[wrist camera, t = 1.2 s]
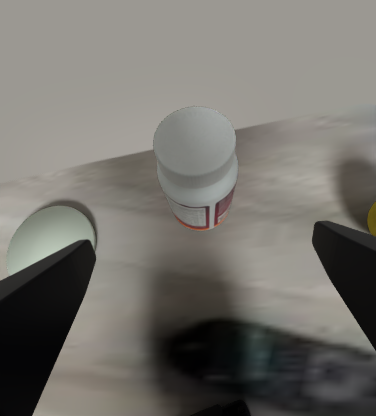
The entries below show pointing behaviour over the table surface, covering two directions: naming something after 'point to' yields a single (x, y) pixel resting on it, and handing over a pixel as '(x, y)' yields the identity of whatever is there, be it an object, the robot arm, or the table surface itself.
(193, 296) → the table surface
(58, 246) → the dish
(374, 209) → the lemon
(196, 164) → the pill bottle
